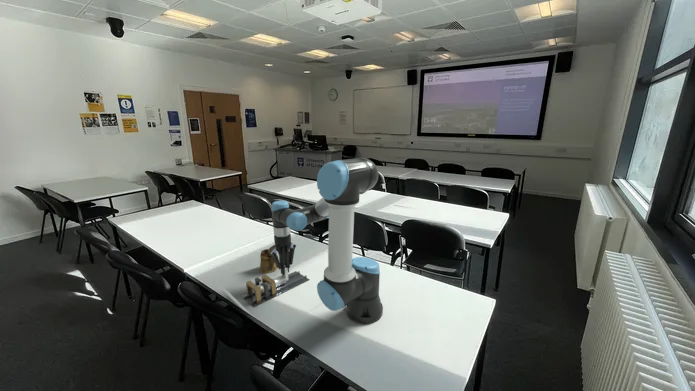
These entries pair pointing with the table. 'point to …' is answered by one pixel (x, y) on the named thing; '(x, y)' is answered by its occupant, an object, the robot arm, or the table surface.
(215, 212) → the table surface
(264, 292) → the aperture bridge
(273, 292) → the collar
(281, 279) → the tube
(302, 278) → the dark grey base rail
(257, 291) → the collar
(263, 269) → the wooden mug
